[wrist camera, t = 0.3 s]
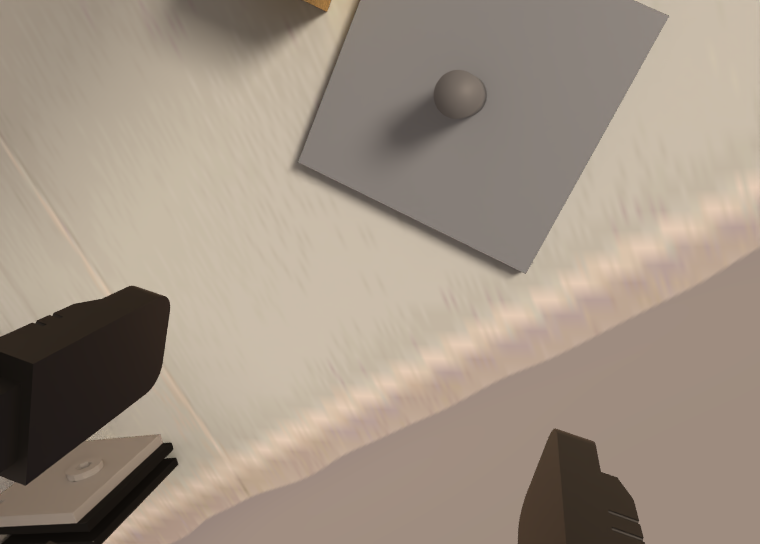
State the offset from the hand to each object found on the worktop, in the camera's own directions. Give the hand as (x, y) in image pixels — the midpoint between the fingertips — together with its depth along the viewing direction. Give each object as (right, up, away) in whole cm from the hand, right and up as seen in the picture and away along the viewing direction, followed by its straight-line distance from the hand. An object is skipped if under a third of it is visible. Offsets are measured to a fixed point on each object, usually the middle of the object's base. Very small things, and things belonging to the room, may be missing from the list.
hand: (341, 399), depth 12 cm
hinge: (-22, -14, +39) cm, 47 cm away
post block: (+6, +13, +25) cm, 28 cm away
